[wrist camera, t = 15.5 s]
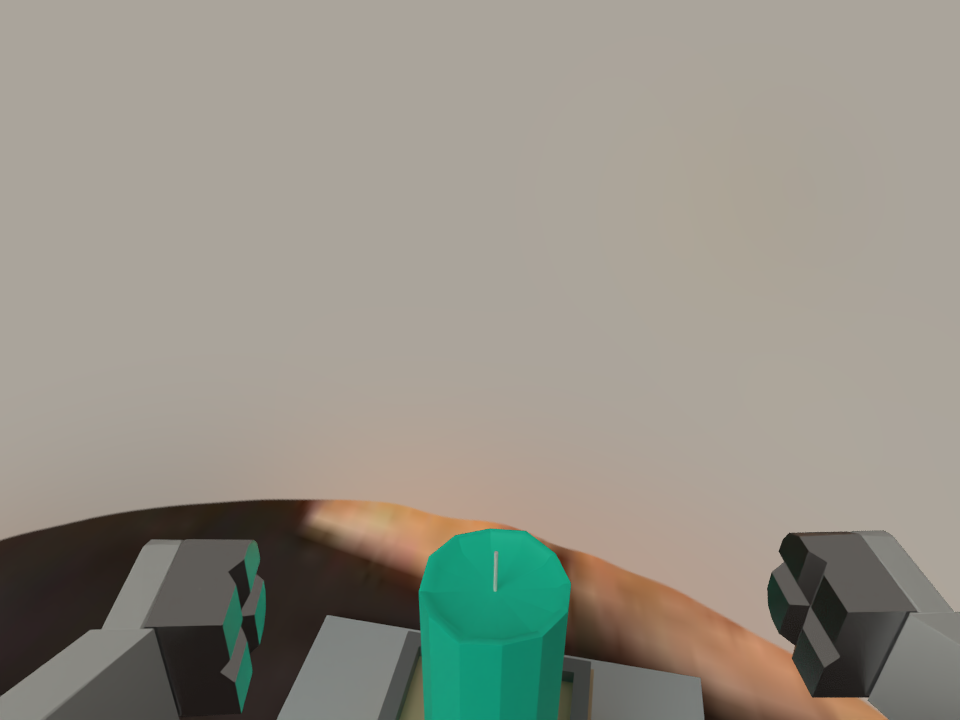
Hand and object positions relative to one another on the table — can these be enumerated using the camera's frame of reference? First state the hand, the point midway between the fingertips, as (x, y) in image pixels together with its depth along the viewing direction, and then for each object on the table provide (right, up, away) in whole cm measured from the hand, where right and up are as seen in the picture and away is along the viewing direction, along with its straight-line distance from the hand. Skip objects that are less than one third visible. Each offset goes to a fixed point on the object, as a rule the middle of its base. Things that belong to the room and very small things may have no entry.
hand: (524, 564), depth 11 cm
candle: (0, -15, +22) cm, 26 cm away
